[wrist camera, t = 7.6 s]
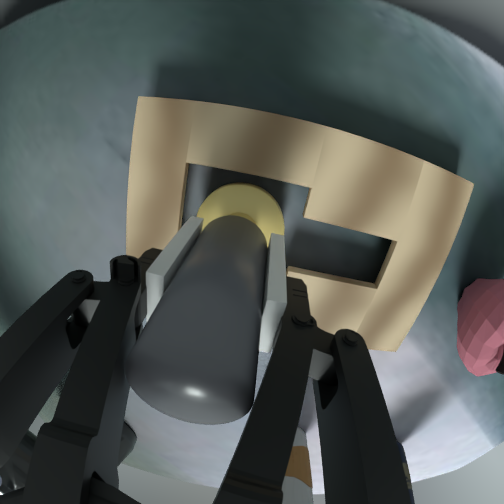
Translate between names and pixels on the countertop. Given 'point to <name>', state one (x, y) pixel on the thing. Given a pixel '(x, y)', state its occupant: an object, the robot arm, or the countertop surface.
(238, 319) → the peg
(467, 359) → the apple
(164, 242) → the keyhole board
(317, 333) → the robot arm
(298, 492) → the coffee cup
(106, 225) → the countertop surface
